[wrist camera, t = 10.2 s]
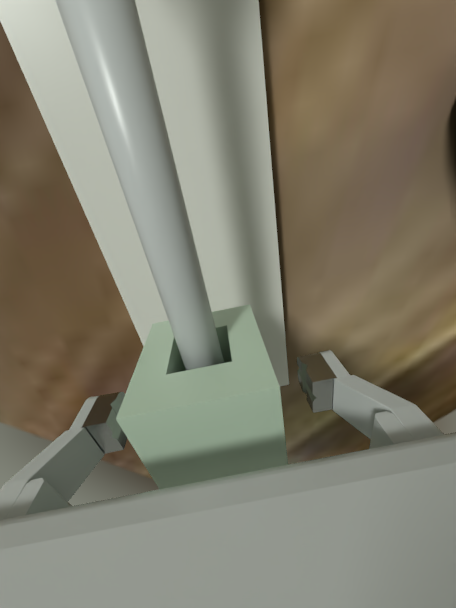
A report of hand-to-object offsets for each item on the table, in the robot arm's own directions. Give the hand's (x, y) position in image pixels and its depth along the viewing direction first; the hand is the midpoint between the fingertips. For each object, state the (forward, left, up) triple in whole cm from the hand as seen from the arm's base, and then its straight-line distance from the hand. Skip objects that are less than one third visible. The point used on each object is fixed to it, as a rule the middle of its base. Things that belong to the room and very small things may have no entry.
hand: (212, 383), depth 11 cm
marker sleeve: (0, 0, -2) cm, 2 cm away
